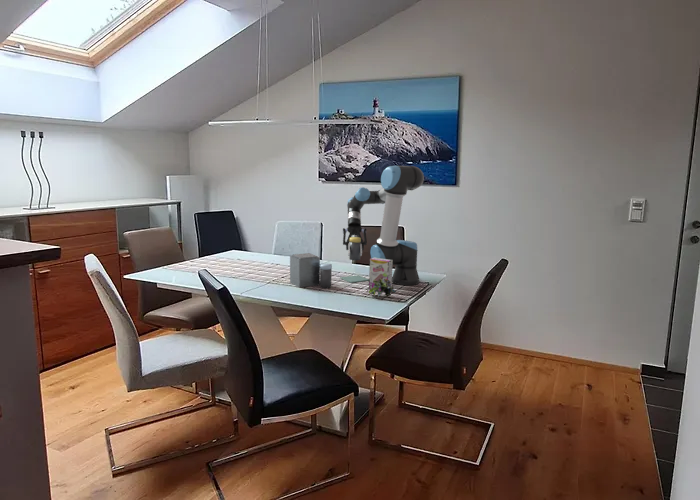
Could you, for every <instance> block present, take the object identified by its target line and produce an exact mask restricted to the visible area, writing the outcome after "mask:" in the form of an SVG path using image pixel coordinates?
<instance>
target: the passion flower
mask: <svg viewBox="0 0 700 500" xmlns="http://www.w3.org/2000/svg"><path fill="white" fill-rule="evenodd" d="M384 280H385V281H386V282H385V281H383V280H382V279H379V281H375V280H374V282H375V285H374V287H373V288H370V287H369V286H368V288H367V291H368V294H371V296H375V295H376V293H377V297H376V299H379V297H380V296H381V295H382V293H384V294H385V296H386V295H387V297H388V296H392V294H391V292H392V293H396V292H397V291H396V290H395V289H394V287H393V285H392V286H391V284H390V281H389V280H387V279H384ZM376 287H377V288H376ZM369 288H370V289H369ZM379 288H380V289H381V291H379ZM384 291H385V292H384ZM372 294H373V295H372Z"/></svg>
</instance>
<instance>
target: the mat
mask: <svg viewBox="0 0 700 500" xmlns="http://www.w3.org/2000/svg"><path fill="white" fill-rule="evenodd" d="M339 279H340V280H343V281H345V282H347V283H349V284H353V283H362V282H369V278H366V277H364V276H362V275H360V274H359V275H357V274H356V275H349V276H342V277H341V276H339Z"/></svg>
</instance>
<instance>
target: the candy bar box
mask: <svg viewBox="0 0 700 500" xmlns="http://www.w3.org/2000/svg"><path fill="white" fill-rule="evenodd" d="M392 263H393V260H388V259H381V258H371V257H370V258H369V275H368V279H369V281H368V288H369V287H370V288H373V287H374V285H375V282H374V280H375V281H379V279H382V280H383V281H385V280H384V279H387V280H389V281H390V284H391V286H392V287H393V285H392V284H393V282H392V276H393V265H392ZM385 282H386V281H385ZM370 288H369V290H370ZM376 288H377V287H376ZM379 291H381V289H380V288H379ZM379 291H378V292H379ZM383 293H385V291H384V292H383Z"/></svg>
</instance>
